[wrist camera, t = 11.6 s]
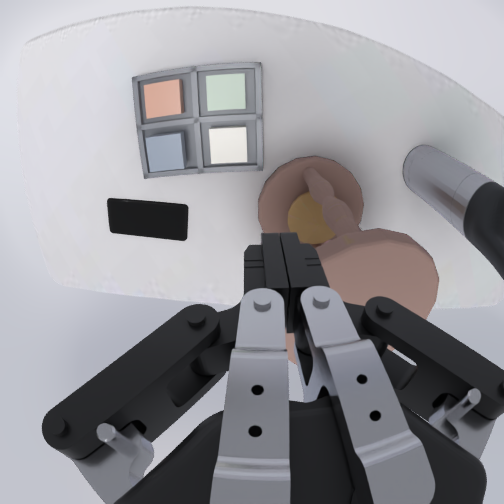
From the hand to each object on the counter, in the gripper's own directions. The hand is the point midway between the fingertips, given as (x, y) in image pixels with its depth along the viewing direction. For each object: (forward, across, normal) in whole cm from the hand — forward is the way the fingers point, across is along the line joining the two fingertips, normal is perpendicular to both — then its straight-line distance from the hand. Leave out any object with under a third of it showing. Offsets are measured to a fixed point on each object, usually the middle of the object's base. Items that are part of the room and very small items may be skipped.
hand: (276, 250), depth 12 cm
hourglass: (+31, -9, +12) cm, 35 cm away
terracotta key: (+29, +12, -7) cm, 32 cm away
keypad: (+31, +8, -3) cm, 32 cm away
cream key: (+29, +4, +1) cm, 30 cm away
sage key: (+29, +4, -7) cm, 30 cm away
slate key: (+28, +12, +1) cm, 30 cm away
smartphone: (+31, +19, +13) cm, 39 cm away
